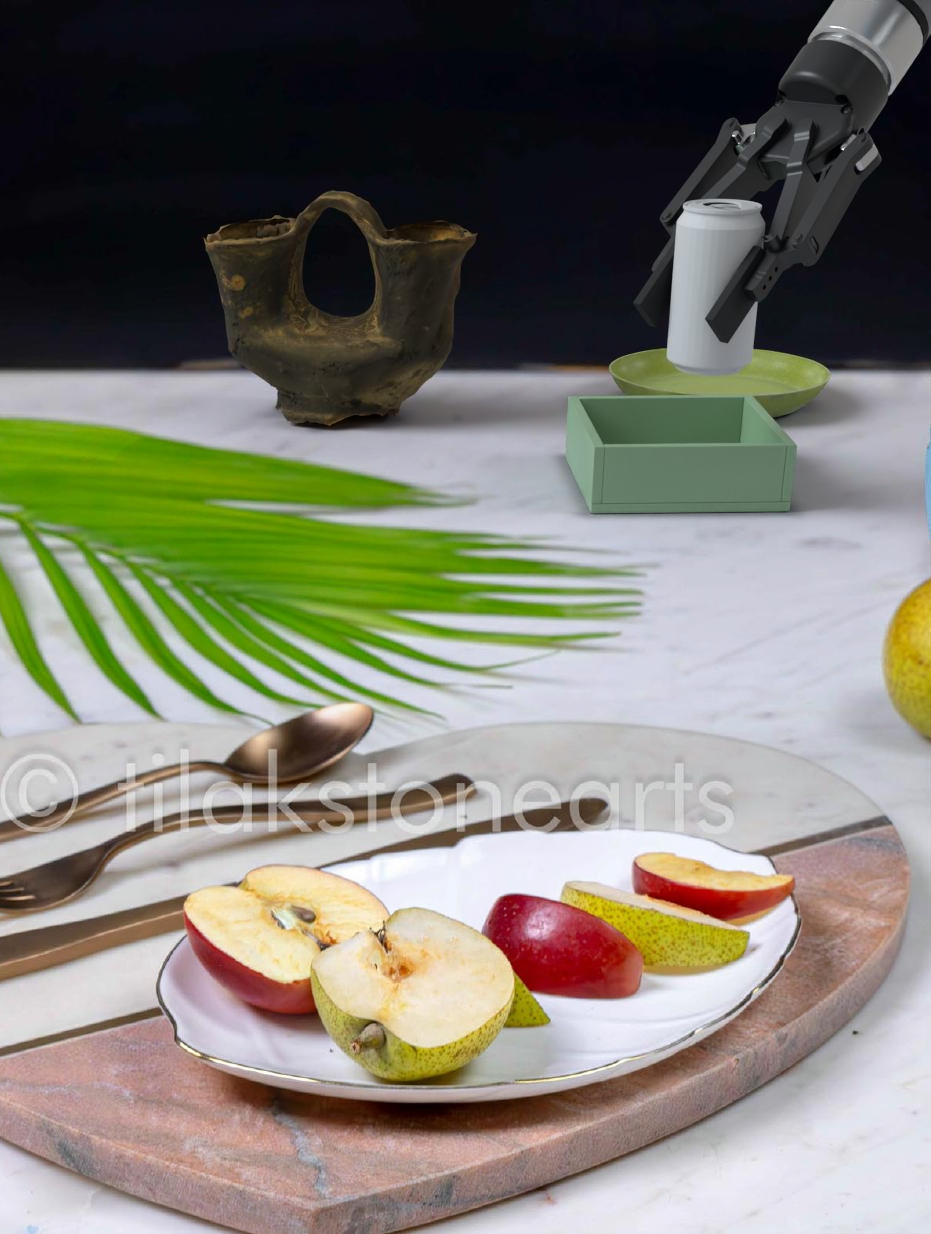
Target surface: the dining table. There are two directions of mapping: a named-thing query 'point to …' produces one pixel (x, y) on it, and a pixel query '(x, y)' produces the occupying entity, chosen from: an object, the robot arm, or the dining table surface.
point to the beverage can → (710, 283)
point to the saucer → (726, 379)
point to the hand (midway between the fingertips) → (680, 322)
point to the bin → (678, 454)
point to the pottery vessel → (331, 345)
